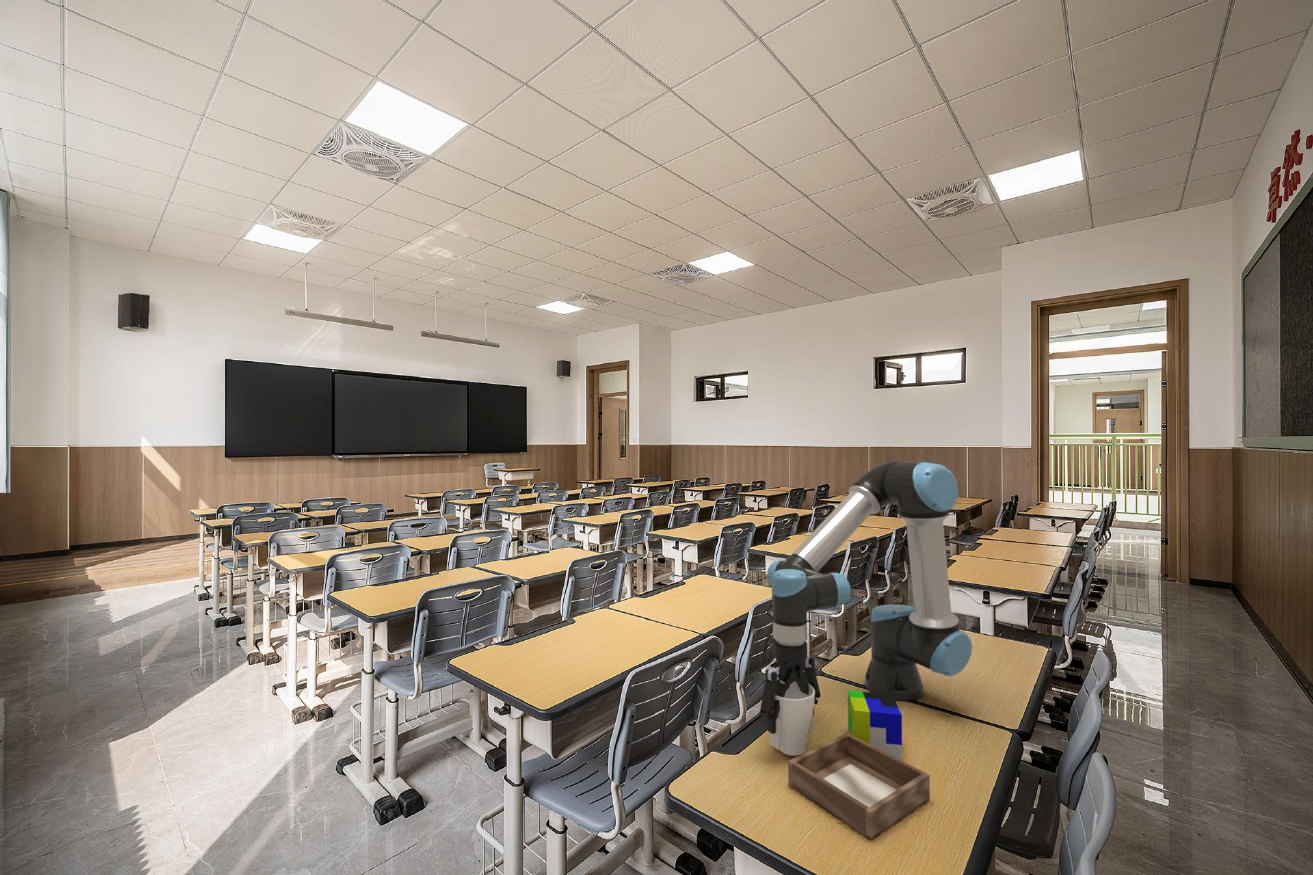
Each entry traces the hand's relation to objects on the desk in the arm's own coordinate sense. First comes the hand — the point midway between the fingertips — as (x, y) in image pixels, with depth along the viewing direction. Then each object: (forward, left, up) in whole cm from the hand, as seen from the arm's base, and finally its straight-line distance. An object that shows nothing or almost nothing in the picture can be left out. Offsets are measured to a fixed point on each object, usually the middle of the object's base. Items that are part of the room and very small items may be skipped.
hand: (791, 738), depth 125 cm
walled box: (0, +17, -3) cm, 18 cm away
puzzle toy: (-18, +9, -3) cm, 20 cm away
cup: (0, 0, -3) cm, 3 cm away
